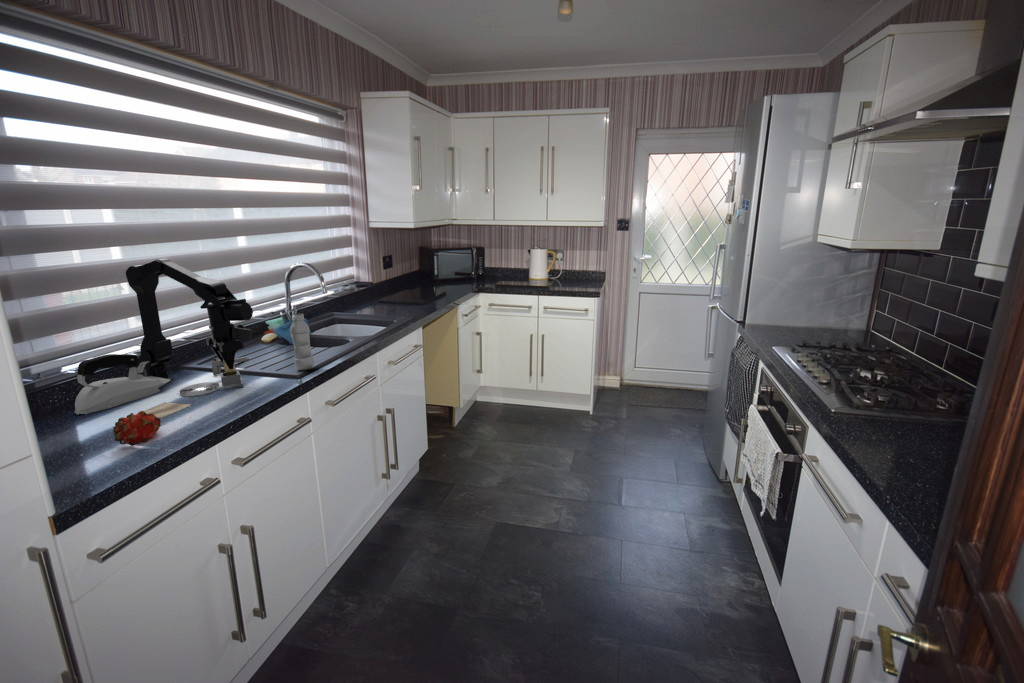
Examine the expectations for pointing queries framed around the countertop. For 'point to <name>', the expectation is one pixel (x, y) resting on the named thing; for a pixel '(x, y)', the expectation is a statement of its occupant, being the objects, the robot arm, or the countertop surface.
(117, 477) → the countertop surface
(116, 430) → the dragon fruit
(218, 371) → the caliper
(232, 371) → the brass cylinder
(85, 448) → the countertop surface
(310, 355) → the plastic bottle
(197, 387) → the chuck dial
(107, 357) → the iron
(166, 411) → the tan square plate
